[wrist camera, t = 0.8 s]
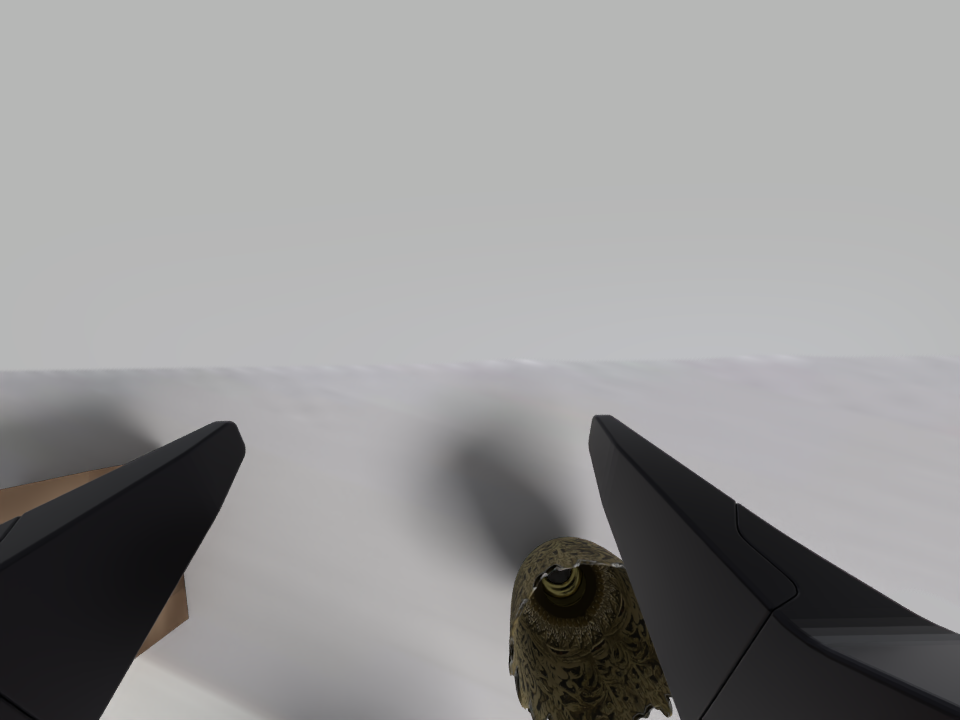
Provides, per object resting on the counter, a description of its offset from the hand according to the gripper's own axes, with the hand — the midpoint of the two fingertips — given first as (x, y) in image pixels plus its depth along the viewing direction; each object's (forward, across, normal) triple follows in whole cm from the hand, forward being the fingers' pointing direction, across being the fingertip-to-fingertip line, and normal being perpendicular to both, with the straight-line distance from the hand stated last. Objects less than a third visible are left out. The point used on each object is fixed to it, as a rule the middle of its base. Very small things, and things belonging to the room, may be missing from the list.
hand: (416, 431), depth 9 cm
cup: (+7, -6, +17) cm, 19 cm away
